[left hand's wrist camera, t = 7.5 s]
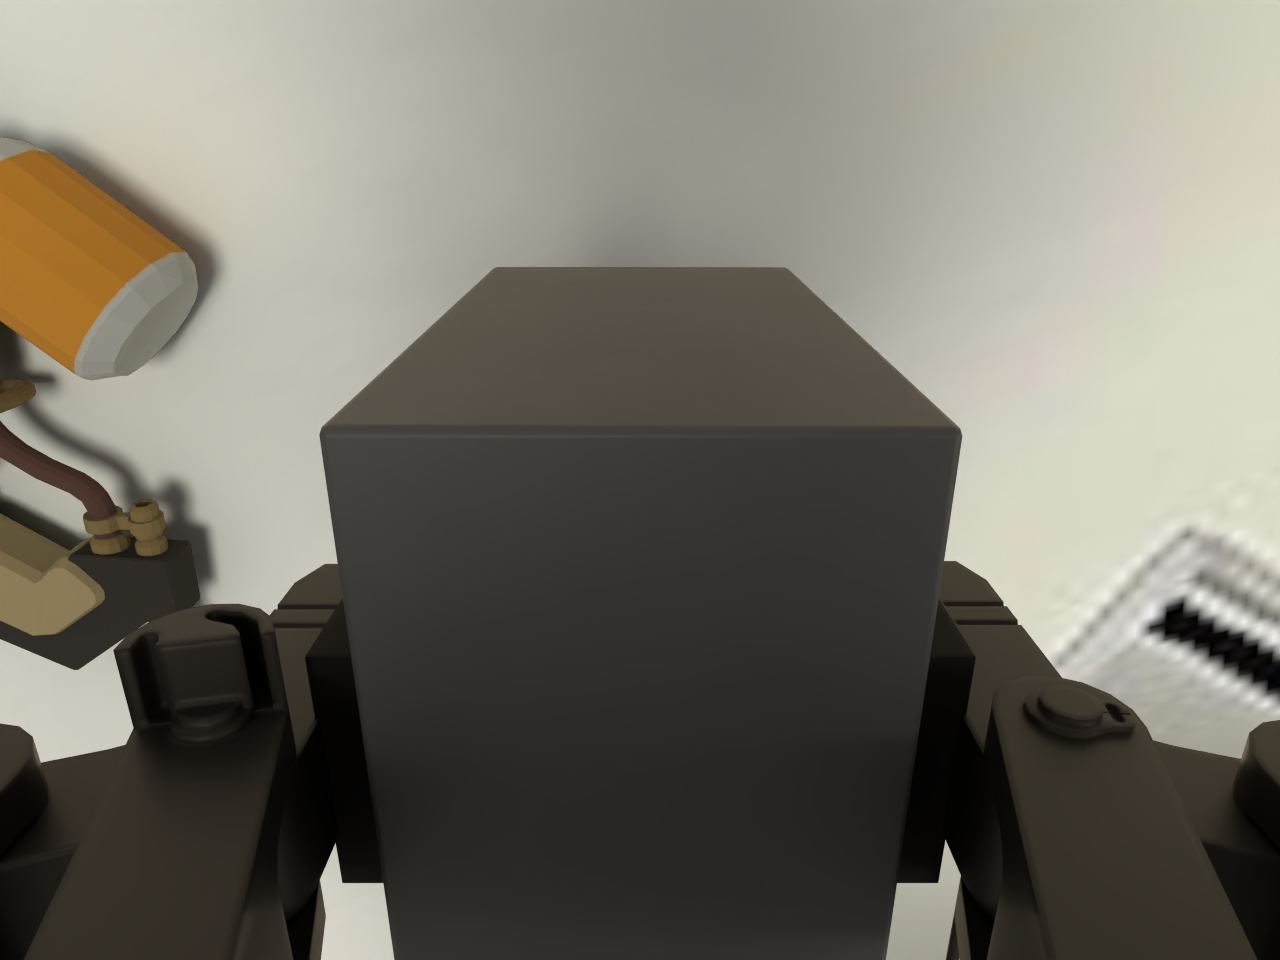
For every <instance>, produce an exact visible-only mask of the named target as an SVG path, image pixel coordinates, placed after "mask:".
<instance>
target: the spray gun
mask: <svg viewBox="0 0 1280 960" xmlns="http://www.w3.org/2000/svg"><path fill="white" fill-rule="evenodd" d="M197 292H198V282H197V274H196V267H195V265H194V263H193V261H192V260H191V258H190V257H189V255H188V254H187V252H186V251H184V250H183V249H182V248H180V247H179V246H178V245H176V244H175V243H173V242H172V241H171V240H169V239H168V238H167V237H165V236H164V235H163V234H161V233H160V232H158V231H157V230H156V229H154V228H153V227H152V226H150V225H149V224H147V223H146V222H145V221H143V220H142V219H141V218H139V217H138V216H137V215H135V214H134V213H132V212H131V211H130V210H128V209H127V208H126V207H124V206H123V205H122V204H120V203H119V202H117V201H116V200H115V199H113V198H112V197H111V196H109V195H108V194H106V193H105V192H104V191H102V190H101V189H100V188H98V187H97V186H96V185H94V184H93V183H91V182H90V181H89V180H87V179H86V178H85V177H83V176H82V175H80V174H79V173H78V172H76V171H75V170H74V169H72V168H71V167H70V166H68V165H67V164H65V163H64V162H63V161H61V160H60V159H59V158H57V157H56V156H55V155H53V154H52V153H50V152H48V151H45V150H43V149H41V148H38V147H36V146H34V145H32V144H29V143H27V142H25V141H22V140H17V139H11V138H5V137H3V138H0V321H1V322H3V323H4V324H5V325H7V326H8V327H10V328H11V329H12V330H14V331H15V332H17V333H18V334H20V335H21V336H22V337H24V338H25V339H27V340H28V341H29V342H31V343H32V344H34V345H35V346H36V347H38V348H39V349H41V350H42V351H43V352H45V353H46V354H48V355H49V356H50V357H52V358H53V359H55V360H56V361H57V362H59V363H60V364H62V365H63V366H65V367H66V368H67V369H69V370H70V371H72V372H73V373H74V374H76V375H78V376H80V377H82V378H84V379H88V380H96V379H102V378H108V377H115V376H128V375H129V374H131V373H132V372H134V371H135V370H137V369H138V368H140V367H142V366H143V365H144V364H145V363H146V362H148V361H149V360H150V359H151V358H152V357H153V356H154V355H155V354H156V353H158V352H159V351H160V350H161V349H162V347H163V346H164V345H165V344H166V343H167V342H168V341H169V340H170V339H171V337H172V336H173V335H174V334H175V333H176V331H177V330H178V329H179V327H180V326H181V324H182V323H183V322H184V320H185V319H186V317H187V316H188V314H189V312H190V310H191V308H192V306H193V304H194V303H195V301H196V297H197ZM35 393H36V389H35V387H34V385H32V384H31V383H29V382H27V381H25V380H21V379H0V413H2V412H4V411H7V410H10V409H12V408H15V407H17V406H19V405H20V404H22V403H24V402H25V401H27V400H29V399H30V398H32V397H33V396H35ZM0 457H1V458H3V459H4V460H6V461H8V462H9V463H11V464H13V465H14V466H16V467H18V468H19V469H21V470H23V471H24V472H26V473H28V474H29V475H31V476H33V477H34V478H36V479H39V480H41V481H43V482H45V483H48V484H50V485H52V486H55V487H57V488H59V489H62V490H64V491H66V492H68V493H70V494H72V495H73V496H75V497H76V498H77V499H79V500H80V501H82V503H83V504H84V506H85V508H86V509H87V512H86V513H85V514H84V515H83V520H84V524H85V529H86V531H87V532H88V533H90V534H94V536H93V537H92V539H86V540H84V541H83V542H81V543H79V544H78V545H77V546H75V547H74V548H73V549H71V550H68V549H66V548H64V547H62V546H60V545H58V544H56V543H54V542H52V541H51V540H49V539H47V538H45V537H43V536H41V535H39V534H38V533H36V532H34V531H32V530H30V529H28V528H26V527H25V526H23V525H21V524H19V523H17V522H15V521H13V520H11V519H10V518H8V517H6V516H4V515H2V514H0V639H2V640H4V641H6V642H9V643H11V644H13V645H16V646H18V647H21V648H23V649H25V650H28V651H30V652H33V653H35V654H37V655H40V656H42V657H44V658H47V659H49V660H52V661H54V662H56V663H59V664H61V665H63V666H66V667H68V668H71V669H73V670H79V669H80V668H81V667H83V666H84V665H86V664H87V663H89V662H90V661H92V660H93V659H94V658H96V657H97V656H99V655H100V654H102V653H103V652H105V651H106V650H107V649H109V648H110V647H112V646H113V645H115V644H116V643H118V642H119V641H120V640H122V639H123V638H125V637H126V636H127V635H128V634H130V633H132V632H133V631H135V630H136V629H138V628H139V627H141V626H142V625H144V624H145V623H147V622H151V621H152V620H155V619H158V618H161V617H163V616H166V615H169V614H172V613H174V612H177V611H180V610H184V609H189V608H192V607H193V606H194V604H195V603H196V602H197V601H198V600H199V599H200V594H199V588H198V583H197V578H196V572H195V567H194V562H193V556H192V551H191V545H190V542H188V541H179V540H167V538H166V537H165V536H163V535H162V533H163V532H164V531H163V530H164V529H165V528H166V524H165V519H164V514H163V512H162V511H161V510H159V505H158V504H157V502H155V501H153V500H140V501H138V502H136V503H134V504H133V505H132V506H131V507H130V509H129V512H130V513H123V511H122V508H120V507H118V506H115V504H114V503H113V501H112V499H111V498H110V496H109V494H108V493H107V491H106V490H105V489H104V488H103V487H102V486H101V485H100V484H99V483H98V482H97V481H95V480H94V479H92V478H91V477H89V476H88V475H86V474H85V473H83V472H81V471H78V470H76V469H74V468H71V467H69V466H67V465H65V464H62V463H60V462H58V461H56V460H53V459H51V458H50V457H48V456H46V455H44V454H43V453H41V452H39V451H37V450H35V449H34V448H32V447H30V446H28V445H27V444H26V443H24V442H23V441H22V440H20V439H19V438H18V437H17V436H15V435H14V434H13V433H12V432H10V431H9V430H8V429H7V428H6V427H5V426H4V425H3V423H2V422H1V421H0ZM124 530H130V533H131V534H132V535H133V536H135V537H130V536H129V534H128V533H127V532H126V531H124Z"/></svg>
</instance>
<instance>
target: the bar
mask: <svg viewBox="0 0 1280 960" xmlns="http://www.w3.org/2000/svg"><path fill="white" fill-rule="evenodd" d="M961 441H962V433H961V430H960V428H959V427H958V426H957V425H956V424H955V423H954V422H953V421H952V420H951V419H949V418H948V417H947V416H946V415H945V414H944V413H943V412H942V411H941V410H940V409H939V408H938V407H936V406H935V405H934V404H933V403H932V402H931V401H930V400H929V399H928V398H927V397H926V396H925V395H923V394H922V393H921V392H920V391H919V390H918V389H917V388H916V387H915V386H914V385H913V384H912V383H911V382H909V381H908V380H907V379H906V378H905V377H904V376H903V375H902V374H901V373H900V372H899V371H898V370H896V369H895V368H894V367H893V366H892V365H891V364H890V363H889V362H888V361H887V360H886V359H885V358H883V357H882V356H881V355H880V354H879V353H878V352H877V351H876V350H875V349H874V348H873V347H872V346H871V345H869V344H868V343H867V342H866V341H865V340H864V339H863V338H862V337H861V336H860V335H859V334H858V333H856V332H855V331H854V330H853V329H852V328H851V327H850V326H849V325H848V324H847V323H846V322H845V321H843V320H842V319H841V318H840V317H839V316H838V315H837V314H836V313H835V312H834V311H833V310H832V309H831V308H829V307H828V306H827V305H826V304H825V303H824V302H823V301H822V300H821V299H820V298H819V297H818V296H816V295H815V294H814V293H813V292H812V291H811V290H810V289H809V288H808V287H807V286H806V285H805V284H803V283H802V282H801V281H800V280H799V279H798V278H797V277H796V276H795V275H794V274H793V273H792V272H791V271H789V270H788V269H786V268H683V267H497V268H494V269H493V270H492V271H491V272H490V273H488V274H487V275H486V276H485V277H484V278H483V279H482V280H481V281H480V282H479V283H478V284H477V285H475V286H474V287H473V288H472V289H471V290H470V291H469V292H468V293H467V294H466V295H465V296H464V297H462V298H461V299H460V300H459V301H458V302H457V303H456V304H455V305H454V306H453V307H452V308H451V309H449V310H448V311H447V312H446V313H445V314H444V315H443V316H442V317H441V318H440V319H439V320H438V321H436V322H435V323H434V324H433V325H432V326H431V327H430V328H429V329H428V330H427V331H426V332H425V333H423V334H422V335H421V336H420V337H419V338H418V339H417V340H416V341H415V342H414V343H413V344H412V345H410V346H409V347H408V348H407V349H406V350H405V351H404V352H403V353H402V354H401V355H400V356H399V357H398V358H396V359H395V360H394V361H393V362H392V363H391V364H390V365H389V366H388V367H387V368H386V369H385V370H383V371H382V372H381V373H380V374H379V375H378V376H377V377H376V378H375V379H374V380H373V381H372V382H370V383H369V384H368V385H367V386H366V387H365V388H364V389H363V390H362V391H361V392H360V393H359V394H357V395H356V396H355V397H354V398H353V399H352V400H351V401H350V402H349V403H348V404H347V405H346V406H344V407H343V408H342V409H341V410H340V411H339V412H338V413H337V414H336V415H335V416H334V417H333V418H331V419H330V420H329V421H328V422H327V423H326V424H325V425H324V426H323V427H322V428H321V432H320V442H321V449H322V456H323V463H324V470H325V477H326V484H327V491H328V498H329V505H330V512H331V519H332V526H333V533H334V540H335V547H336V554H337V561H338V568H339V575H340V582H341V589H342V596H343V603H344V610H345V617H346V624H347V631H348V638H349V645H350V652H351V659H352V666H353V673H354V680H355V687H356V694H357V701H358V708H359V715H360V722H361V729H362V736H363V743H364V750H365V757H366V764H367V771H368V778H369V785H370V792H371V799H372V806H373V813H374V820H375V826H376V833H377V840H378V847H379V854H380V861H381V868H382V875H383V882H384V889H385V896H386V903H387V910H388V917H389V924H390V931H391V938H392V945H393V952H394V959H395V960H886V954H887V947H888V940H889V933H890V927H891V920H892V913H893V906H894V899H895V892H896V885H897V879H898V872H899V865H900V858H901V851H902V844H903V838H904V831H905V824H906V817H907V810H908V803H909V797H910V790H911V783H912V776H913V769H914V762H915V755H916V749H917V742H918V735H919V728H920V721H921V714H922V708H923V701H924V694H925V687H926V680H927V673H928V667H929V660H930V653H931V646H932V639H933V632H934V626H935V619H936V612H937V605H938V598H939V591H940V584H941V578H942V571H943V564H944V557H945V550H946V543H947V537H948V530H949V523H950V516H951V509H952V502H953V496H954V489H955V482H956V475H957V468H958V461H959V454H960V448H961Z"/></svg>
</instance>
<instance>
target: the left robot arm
mask: <svg viewBox="0 0 1280 960" xmlns="http://www.w3.org/2000/svg"><path fill="white" fill-rule="evenodd" d="M1017 622H1018V620H1017V619H1016V618H1015V616H1014V615H1013V614H1012V613H1011V611H1010V610H1009V609H1008V607H1007V606H1004V605H1003V601H1002V600H1001V598H1000V597H999V596H998V594H997V593H996V592H995V591H994V589H993V588H992V587H991V585H990V584H989V583H988V581H987V580H985V579H984V578H982V577H981V576H979V575H977V574H976V573H974V572H973V571H971V570H969V569H968V568H966V567H965V566H963V565H961V564H960V563H958V562H956V561H944V564H943V571H942V578H941V584H940V591H939V598H938V605H937V612H936V619H935V626H934V632H933V639H932V646H931V653H930V660H929V667H928V673H927V680H926V687H925V694H924V701H923V708H922V714H921V721H920V728H919V735H918V742H917V749H916V755H915V762H914V769H913V776H912V783H911V790H910V797H909V803H908V810H907V817H906V824H905V831H904V838H903V844H902V851H901V858H900V865H899V872H898V879H897V883H938V880H939V874H940V868H941V862H942V856H943V850H944V844H945V839H946V841H947V844H948V846H949V848H950V851H951V853H952V855H953V858H954V860H955V862H956V865H957V867H958V869H959V872H960V874H961V879H960V884H959V890H958V895H957V901H956V906H955V912H954V918H953V923H952V929H951V934H950V940H949V945H948V951H947V957H946V960H959V959H960V960H1280V720H1277V721H1270V722H1264V723H1262V724H1260V725H1259V726H1258V727H1256V728H1255V729H1254V730H1253V731H1251V732H1250V733H1249V736H1248V739H1247V742H1246V746H1245V749H1244V752H1243V755H1242V758H1241V759H1237V758H1232V757H1227V756H1222V755H1217V754H1212V753H1207V752H1202V751H1197V750H1192V749H1187V748H1182V747H1177V746H1172V745H1168V744H1165V743H1161V742H1157V741H1153V740H1152V738H1151V736H1150V733H1149V731H1148V729H1147V727H1146V726H1145V725H1144V723H1143V722H1142V721H1141V720H1140V718H1139V717H1138V716H1137V715H1136V713H1135V712H1134V711H1133V710H1132V709H1131V708H1129V707H1128V706H1127V705H1125V704H1124V703H1122V702H1121V701H1119V700H1118V699H1116V698H1115V697H1113V696H1112V695H1111V694H1108V693H1106V692H1104V691H1101V690H1099V689H1097V688H1094V687H1092V686H1089V685H1087V684H1085V683H1082V682H1077V681H1073V680H1068V679H1064V678H1062V677H1061V676H1060V675H1059V673H1058V672H1057V671H1056V669H1055V668H1054V667H1053V666H1052V664H1051V663H1050V662H1049V660H1048V659H1047V658H1046V656H1045V655H1044V654H1043V653H1042V651H1041V650H1040V649H1039V647H1038V646H1037V645H1036V644H1035V642H1034V641H1033V640H1032V638H1031V637H1030V636H1029V634H1028V633H1027V632H1026V631H1025V629H1024V628H1023V627H1022V625H1018V623H1017ZM113 651H114V655H115V658H116V662H117V666H118V670H119V674H120V678H121V681H122V685H123V689H124V693H125V697H126V700H127V704H128V708H129V712H130V716H131V720H132V723H133V727H134V729H133V731H132V733H131V735H130V737H129V739H128V741H127V743H126V745H123V746H119V747H116V748H112V749H108V750H103V751H98V752H93V753H88V754H83V755H78V756H73V757H68V758H63V759H58V760H53V761H48V762H43V763H41V762H40V759H39V756H38V753H37V749H36V746H35V743H34V740H33V737H32V736H31V735H30V734H28V733H27V732H26V731H24V730H23V729H22V728H21V727H19V726H12V725H6V724H0V960H321V952H322V944H323V935H324V926H325V918H326V915H325V908H324V901H323V895H322V890H321V884H320V878H321V875H322V873H323V871H324V868H325V866H326V864H327V861H328V859H329V857H330V854H331V852H332V850H333V847H334V845H335V843H336V847H337V853H338V859H339V865H340V871H341V877H342V882H343V883H384V882H383V875H382V868H381V861H380V854H379V847H378V840H377V833H376V826H375V820H374V813H373V806H372V799H371V792H370V785H369V778H368V771H367V764H366V757H365V750H364V743H363V736H362V729H361V722H360V715H359V708H358V701H357V694H356V687H355V680H354V673H353V666H352V659H351V652H350V645H349V638H348V631H347V624H346V617H345V610H344V603H343V596H342V589H341V582H340V575H339V568H338V564H324V565H323V566H321V567H320V568H318V569H316V570H315V571H313V572H312V573H310V574H308V575H307V576H305V577H304V578H302V579H300V580H299V581H297V582H296V583H294V585H293V586H292V587H291V589H290V590H289V591H288V592H287V594H286V595H285V596H284V598H283V599H282V600H281V602H280V603H279V604H278V609H274V611H273V612H272V613H271V615H270V616H269V615H268V614H266V613H265V612H264V611H263V610H261V609H260V608H255V607H251V606H246V605H242V604H210V605H205V606H200V607H195V608H189V609H184V610H180V611H177V612H174V613H172V614H169V615H166V616H163V617H161V618H158V619H155V620H152V621H151V622H149V623H147V624H145V625H144V626H142V627H140V628H139V629H137V630H135V631H133V632H132V633H130V634H128V635H127V636H126V637H125V639H124V640H123V641H122V642H121V643H120V644H119V645H118V646H117V647H116V648H115V649H114V650H113Z"/></svg>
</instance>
